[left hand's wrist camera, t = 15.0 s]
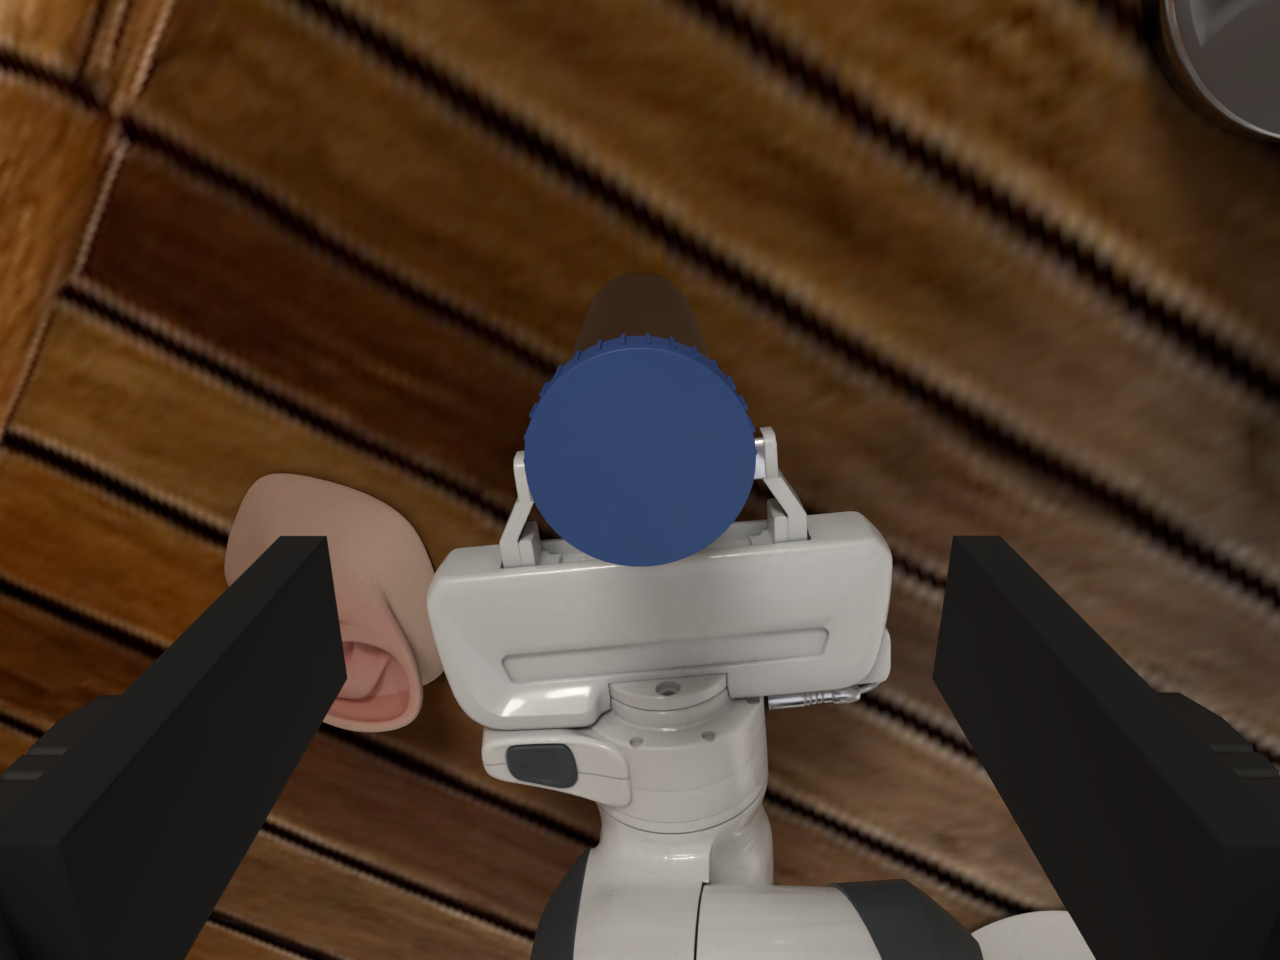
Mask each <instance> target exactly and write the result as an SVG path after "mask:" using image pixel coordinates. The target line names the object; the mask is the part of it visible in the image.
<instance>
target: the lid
mask: <svg viewBox="0 0 1280 960" xmlns="http://www.w3.org/2000/svg"><path fill="white" fill-rule="evenodd" d="M735 389H736V387H735V385H734V382H733V380H732V378H731V377H730V375H729V376H728V377H726V375H725V374H724V373H723V372H722V371H721V370H720V369H719V368H718V365H717V363H716V361H715V360H714V359H712V360H711V361H710V360H709V359H708V358H707V357H705V356H704V355H703V354H701V353H699V352H698V351H697V348H696V347H695V346H692V347H688V346H686V345H683V344H681V343H679V342H676V341H674V338H673V337H670V338H669V340H668V339H665V338H660V337H652V336H650V333H646V336H628V337H626V334H621V337H620V338H615V339H612V340H608V341H604V342H602V339H601V340H598V342H597V345H594V346H592V347H590V348H588V349H586V350H585V351H583V352H581V351H580V350H578V351H577V352H576V354H575V357H574V358H572V359H571V360H570V361H569V362H567V363H566V364H565V365H564V366H562V365H561V364H560V365H559V366H558V369H557V371H556V373H555V376H554V377H553V378H552V380H551V381H550V382H549V384H548V383H546V382H545V384H544V386H543V388H542V390H541V392H540V395H539V396H541V398H540V400H539V402H538V403H535V404H534V406H533V408H532V410H531V413H530V415H529V417H530V418H532V419H531V421H530V424H529V426H528V429H527V431H526V433H525V435H524V440H525V449H524V459H523V462H524V465H525V473H526V479H527V484H528V487H529V490H530V493H531V495H532V498H533V500H534V502H535V504H536V506H537V508H538V510H539V511H540V513H541V514H542V516H543V517H544V519H545V520H546V522H547V523H548V524H549V525H550V526H551V528H552V529H553V530H554V531H555V532H556V533H557V534H558V535H559V536H560V537H562V538H563V539H564V540H565V541H566V542H567V543H569V544H570V545H572V546H573V547H575V548H576V549H578V550H579V551H581V552H583V553H585V554H587V555H589V556H591V557H594V558H596V559H599V560H602V561H604V562H609V563H613V564H617V565H624V566H632V567H648V566H657V565H663V564H667V563H672V562H676V561H678V560H681V559H684V558H686V557H689V556H691V555H693V554H695V553H697V552H699V551H701V550H702V549H704V548H705V547H707V546H708V545H710V544H711V543H713V542H714V541H715V540H716V539H717V538H719V537H720V536H721V535H722V534H723V533H724V532H725V531H726V530H727V529H728V528H729V527H730V525H731V524H732V523H733V522H734V521H735V519H736V518H737V516H738V515H739V513H740V512H741V510H742V509H743V506H744V504H745V502H746V500H747V498H748V496H749V493H750V490H751V487H752V484H753V480H754V475H755V469H756V455H757V449H756V447H755V439H754V434H753V432H755V428H754V426H753V423H752V421H751V419H750V417H749V416H747V413H746V411H745V410H747V409H748V407H747V405H746V403H745V401H744V399H743V396H742V395H740V396H738V394H737V392H736V390H735Z"/></svg>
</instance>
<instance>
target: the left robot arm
mask: <svg viewBox="0 0 1280 960" xmlns="http://www.w3.org/2000/svg"><path fill="white" fill-rule="evenodd" d="M1144 3H1145V11H1146V19H1147V24H1148V29H1149V33H1150V37H1151V41H1152V44H1153V47H1154V50H1155V53H1156V56H1157V58H1158V60H1159V62H1160V65H1161V67H1162V69H1163V71H1164V73H1165V75H1166V76H1167V78H1168V79H1169V81H1170V83H1171V84H1172V86H1173V87H1174V89H1175V90H1176V91H1177V92H1178V94H1179V95H1180V96H1181V97H1182V99H1183V100H1184V101H1185V102H1186V103H1187V104H1188V105H1189V106H1190V107H1191V108H1192V109H1193V110H1194V111H1195V112H1197V113H1198V114H1199V115H1201V116H1202V117H1203V118H1205V119H1206V120H1207V121H1209V122H1211V123H1212V124H1214V125H1216V126H1217V127H1219V128H1221V129H1223V130H1225V131H1228V132H1230V133H1232V134H1235V135H1238V136H1241V137H1245V138H1248V139H1252V140H1258V141H1264V142H1273V143H1280V0H1144ZM347 679H348V678H347V671H346V664H345V658H344V651H343V644H342V637H341V630H340V623H339V616H338V610H337V603H336V596H335V589H334V582H333V575H332V569H331V562H330V555H329V548H328V541H327V536H280V537H279V538H278V539H277V540H276V541H275V542H274V543H273V544H272V545H271V546H270V547H269V548H268V549H267V550H266V551H265V552H264V553H263V554H262V555H261V556H260V557H259V558H258V559H257V560H256V561H255V562H254V563H253V564H252V565H251V566H250V567H249V568H248V569H247V570H246V571H245V572H244V573H243V574H242V575H241V576H240V577H239V578H238V579H237V580H236V581H235V582H234V583H233V584H232V585H231V586H230V587H229V588H228V589H227V590H226V591H225V592H224V593H223V594H222V595H221V596H220V597H219V598H218V599H217V600H216V601H215V602H214V603H213V604H212V605H211V606H210V607H209V608H208V609H207V610H206V611H205V612H204V613H203V614H202V615H201V616H200V617H199V618H198V619H197V620H196V621H195V622H194V623H193V624H192V625H191V626H190V627H189V628H188V629H187V630H186V631H185V632H184V633H183V634H182V635H181V636H180V637H179V638H178V639H177V640H176V641H175V642H174V643H173V644H172V645H171V646H170V647H169V648H168V649H167V650H166V651H165V652H164V653H163V654H162V655H161V656H160V657H159V658H158V659H157V660H156V661H155V662H154V663H153V664H152V665H151V666H150V667H149V668H148V669H147V670H146V671H145V672H144V673H143V674H142V675H141V676H140V677H139V678H138V679H137V680H136V681H135V682H134V683H133V684H132V685H131V686H130V687H129V688H128V689H127V690H126V691H125V692H124V693H123V694H122V695H101V696H100V697H98V698H96V699H95V700H93V701H91V702H89V703H88V704H86V705H84V706H83V707H81V708H79V709H78V710H76V711H74V712H72V713H71V714H69V715H67V716H66V717H64V718H62V719H60V720H59V721H58V722H57V723H56V724H55V725H54V726H53V727H51V728H50V729H49V730H48V731H47V732H46V733H45V734H44V735H43V736H42V737H41V738H40V739H39V740H38V741H37V742H35V743H34V744H33V745H32V746H31V747H30V748H29V749H28V754H27V755H22V756H21V757H19V758H18V759H17V760H16V761H15V762H14V763H13V764H12V765H11V766H10V767H9V768H8V769H7V770H6V771H5V772H3V773H2V779H1V780H0V960H184V959H185V957H186V956H187V954H188V952H189V950H190V949H191V947H192V945H193V944H194V942H195V940H196V938H197V937H198V935H199V933H200V932H201V930H202V928H203V926H204V925H205V923H206V921H207V919H208V918H209V916H210V914H211V913H212V911H213V909H214V907H215V906H216V904H217V902H218V901H219V899H220V897H221V895H222V894H223V892H224V890H225V889H226V887H227V885H228V883H229V882H230V880H231V878H232V876H233V875H234V873H235V871H236V870H237V868H238V866H239V864H240V863H241V861H242V859H243V858H244V856H245V854H246V852H247V851H248V849H249V847H250V846H251V844H252V842H253V840H254V839H255V837H256V835H257V833H258V832H259V830H260V828H261V827H262V825H263V823H264V821H265V820H266V818H267V816H268V815H269V813H270V811H271V809H272V808H273V806H274V804H275V803H276V801H277V799H278V797H279V796H280V794H281V792H282V790H283V789H284V787H285V785H286V784H287V782H288V780H289V778H290V777H291V775H292V773H293V772H294V770H295V768H296V766H297V765H298V763H299V761H300V760H301V758H302V756H303V754H304V753H305V751H306V749H307V747H308V746H309V744H310V742H311V741H312V739H313V737H314V735H315V734H316V732H317V730H318V729H319V727H320V725H321V723H322V722H323V720H324V718H325V717H326V715H327V713H328V711H329V710H330V708H331V706H332V704H333V703H334V701H335V699H336V698H337V696H338V694H339V692H340V691H341V689H342V687H343V686H344V684H345V682H346V680H347ZM932 679H933V680H934V682H935V684H936V686H937V687H938V689H939V691H940V692H941V694H942V696H943V698H944V699H945V701H946V703H947V704H948V706H949V708H950V710H951V711H952V713H953V715H954V717H955V718H956V720H957V722H958V723H959V725H960V727H961V729H962V730H963V732H964V734H965V735H966V737H967V739H968V741H969V742H970V744H971V746H972V747H973V749H974V751H975V753H976V754H977V756H978V758H979V760H980V761H981V763H982V765H983V766H984V768H985V770H986V772H987V773H988V775H989V777H990V778H991V780H992V782H993V784H994V785H995V787H996V789H997V790H998V792H999V794H1000V796H1001V797H1002V799H1003V801H1004V803H1005V804H1006V806H1007V808H1008V809H1009V811H1010V813H1011V815H1012V816H1013V818H1014V820H1015V821H1016V823H1017V825H1018V827H1019V828H1020V830H1021V832H1022V833H1023V835H1024V837H1025V839H1026V840H1027V842H1028V844H1029V846H1030V847H1031V849H1032V851H1033V852H1034V854H1035V856H1036V858H1037V859H1038V861H1039V863H1040V864H1041V866H1042V868H1043V870H1044V871H1045V873H1046V875H1047V876H1048V878H1049V880H1050V882H1051V883H1052V885H1053V887H1054V889H1055V890H1056V892H1057V894H1058V895H1059V897H1060V899H1061V901H1062V902H1063V904H1064V906H1065V907H1066V909H1067V911H1068V913H1069V914H1070V916H1071V918H1072V919H1073V921H1074V923H1075V925H1076V926H1077V928H1078V930H1079V932H1080V933H1081V935H1082V937H1083V938H1084V940H1085V942H1086V944H1087V945H1088V947H1089V949H1090V950H1091V952H1092V954H1093V956H1094V957H1095V959H1096V960H1280V776H1279V770H1277V769H1276V768H1275V767H1274V766H1273V765H1272V764H1271V763H1270V762H1269V761H1268V760H1267V759H1266V758H1265V757H1264V756H1262V755H1261V754H1260V753H1259V752H1254V751H1253V746H1252V745H1251V744H1250V743H1249V742H1247V741H1246V740H1245V739H1244V738H1243V737H1242V736H1241V735H1240V734H1239V733H1238V732H1237V731H1236V730H1235V729H1233V728H1232V727H1231V726H1230V725H1229V724H1228V723H1227V722H1226V721H1225V720H1224V719H1223V718H1222V717H1220V716H1218V715H1217V714H1215V713H1213V712H1211V711H1210V710H1208V709H1206V708H1205V707H1203V706H1201V705H1199V704H1198V703H1196V702H1194V701H1193V700H1191V699H1189V698H1187V697H1186V696H1184V695H1182V694H1181V693H1156V692H1155V691H1154V690H1153V689H1152V688H1151V687H1150V686H1149V685H1148V684H1147V683H1146V682H1145V681H1144V680H1143V679H1142V678H1141V677H1140V676H1139V675H1138V674H1137V673H1136V672H1135V671H1134V670H1133V669H1132V668H1131V667H1130V666H1129V665H1128V664H1127V663H1126V662H1125V661H1124V660H1123V659H1122V658H1121V657H1120V656H1119V655H1118V654H1117V653H1116V652H1115V651H1114V650H1113V649H1112V648H1111V647H1110V646H1109V645H1108V644H1107V643H1106V642H1105V641H1104V640H1103V639H1102V638H1101V637H1100V636H1099V635H1098V634H1097V633H1096V632H1095V631H1094V630H1093V629H1092V628H1091V627H1090V626H1089V625H1088V624H1087V623H1086V622H1085V621H1084V620H1083V619H1082V618H1081V617H1080V616H1079V615H1078V614H1077V613H1076V612H1075V611H1074V610H1073V609H1072V608H1071V607H1070V606H1069V605H1068V604H1067V603H1066V602H1065V601H1064V600H1063V599H1062V598H1061V597H1060V596H1059V595H1058V594H1057V593H1056V592H1055V591H1054V590H1053V589H1052V588H1051V587H1050V586H1049V585H1048V584H1047V583H1046V582H1045V581H1044V580H1043V579H1042V578H1041V577H1040V576H1039V575H1038V574H1037V573H1036V572H1035V571H1034V570H1033V569H1032V568H1031V567H1030V566H1029V565H1028V564H1027V563H1026V562H1025V561H1024V560H1023V559H1022V558H1021V557H1020V556H1019V555H1018V554H1017V553H1016V552H1015V551H1014V550H1013V549H1012V548H1011V547H1010V546H1009V545H1008V544H1007V543H1006V542H1005V541H1004V540H1003V539H1002V538H1001V537H1000V536H953V541H952V548H951V555H950V562H949V568H948V575H947V582H946V589H945V596H944V603H943V610H942V616H941V623H940V630H939V637H938V644H937V651H936V658H935V664H934V671H933V678H932Z"/></svg>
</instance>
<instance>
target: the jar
mask: <svg viewBox="0 0 1280 960" xmlns="http://www.w3.org/2000/svg"><path fill="white" fill-rule="evenodd" d="M646 333H650V336H652V337H660V338H665V339H668V340H669V338H670V337H673V338H674V341H676V342H679V343H681V344H683V345H686V346H688V347H692V346H695V347H696V348H697V351H698V352H699V353H701V354H703V355H704V356H705V357H707V358H708V359H709V360H710V361H711V359H710V357H709V354H708V351H707V349H706V346H705V344H704V341H703V338H702V336H701V333H700V331H699V328H698V325H697V323H696V320H695V318H694V315H693V312H692V310H691V307H690V305H689V303H688V301H687V299H686V297H685V296H684V295H683V293H682V292H681V291H680V290H679V289H678V288H677V287H676V286H675V285H673V284H672V283H671V282H669V281H668V280H666V279H664V278H662V277H659V276H657V275H653V274H648V273H633V274H627V275H624V276H621V277H618V278H616V279H614V280H613V281H611V282H609V283H608V284H607V285H605V286H604V287H603V288H602V289H601V290H600V291H599V292H598V294H597V295H596V296H595V298H594V299H593V301H592V303H591V305H590V308H589V310H588V313H587V315H586V318H585V321H584V323H583V326H582V328H581V331H580V334H579V336H578V339H577V341H576V344H575V347H574V349H573V352H572V354H571V357H570V360H571V359H572V358H574V357H575V354H576V352H577V351H578V350H580V351H581V352H583V351H585V350H586V349H588V348H590V347H592V346H594V345H597V342H598V340H601V339H602V342H604V341H608V340H612V339H615V338H620V337H621V334H626V337H628V336H646ZM570 360H569V361H570Z"/></svg>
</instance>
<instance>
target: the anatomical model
mask: <svg viewBox="0 0 1280 960" xmlns="http://www.w3.org/2000/svg"><path fill="white" fill-rule="evenodd" d="M280 536H327V541H328V548H329V555H330V562H331V569H332V575H333V582H334V589H335V596H336V603H337V610H338V616H339V623H340V630H341V637H342V644H343V651H344V658H345V664H346V671H347V678H348V679H347V680H346V682H345V684H344V686H343V687H342V689H341V691H340V692H339V694H338V696H337V698H336V699H335V701H334V703H333V704H332V706H331V708H330V710H329V711H328V713H327V715H326V717H325V718H324V720H323V722H325V723H327V724H330V725H333V726H336V727H339V728H343V729H347V730H351V731H358V732H383V731H390V730H395V729H399V728H401V727H404V726H406V725H408V724H409V723H411V722H412V721H413V720H414V719H415V718H416V717H417V715H418V714H419V712H420V710H421V707H422V702H423V685H426V684H428V683H430V682H431V681H433V680H434V679H436V678H437V677H438V676H439V675H441V673H442V672H443V671H444V669H443V666H442V663H441V660H440V657H439V654H438V651H437V648H436V645H435V641H434V638H433V634H432V630H431V626H430V622H429V618H428V612H427V607H426V597H427V592H428V588H429V585H430V583H431V581H432V578H433V576H434V574H435V573H434V570H433V567H432V564H431V562H430V559H429V557H428V554H427V552H426V549H425V547H424V545H423V543H422V541H421V539H420V537H419V536H418V534H417V532H416V531H415V529H414V528H413V527H412V525H411V524H410V523H409V522H408V521H407V520H406V519H405V518H404V517H403V516H402V515H401V514H400V513H398V512H397V511H396V510H394V509H393V508H392V507H390V506H388V505H387V504H385V503H383V502H382V501H380V500H378V499H376V498H374V497H372V496H370V495H368V494H366V493H363V492H360V491H358V490H355V489H352V488H350V487H347V486H343V485H340V484H337V483H333V482H330V481H326V480H322V479H317V478H313V477H309V476H302V475H296V474H285V473H278V474H270V475H266V476H264V477H261V478H260V479H258V480H257V481H256V482H255V483H254V484H253V485H252V486H251V487H250V489H249V490H248V492H247V494H246V495H245V497H244V499H243V501H242V503H241V506H240V508H239V511H238V513H237V516H236V518H235V521H234V524H233V526H232V529H231V532H230V536H229V540H228V545H227V551H226V557H225V566H224V568H225V577H226V581H227V583H228V586H229V587H230V586H231V585H232V584H233V583H234V582H235V581H236V580H237V579H238V578H239V577H240V576H241V575H242V574H243V573H244V572H245V571H246V570H247V569H248V568H249V567H250V566H251V565H252V564H253V563H254V562H255V561H256V560H257V559H258V558H259V557H260V556H261V555H262V554H263V553H264V552H265V551H266V550H267V549H268V548H269V547H270V546H271V545H272V544H273V543H274V542H275V541H276V540H277V539H278V538H279V537H280Z"/></svg>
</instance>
